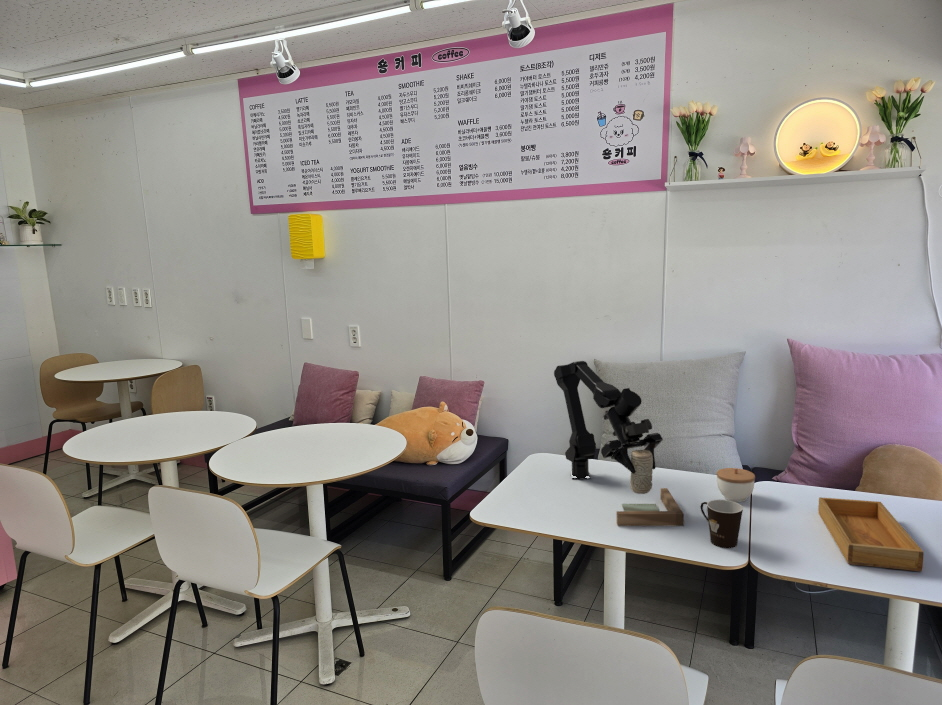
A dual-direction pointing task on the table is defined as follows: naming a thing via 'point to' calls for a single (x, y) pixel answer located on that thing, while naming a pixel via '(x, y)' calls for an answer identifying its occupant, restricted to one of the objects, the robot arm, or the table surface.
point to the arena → (652, 513)
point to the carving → (641, 471)
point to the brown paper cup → (723, 522)
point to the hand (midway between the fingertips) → (644, 470)
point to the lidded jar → (735, 483)
